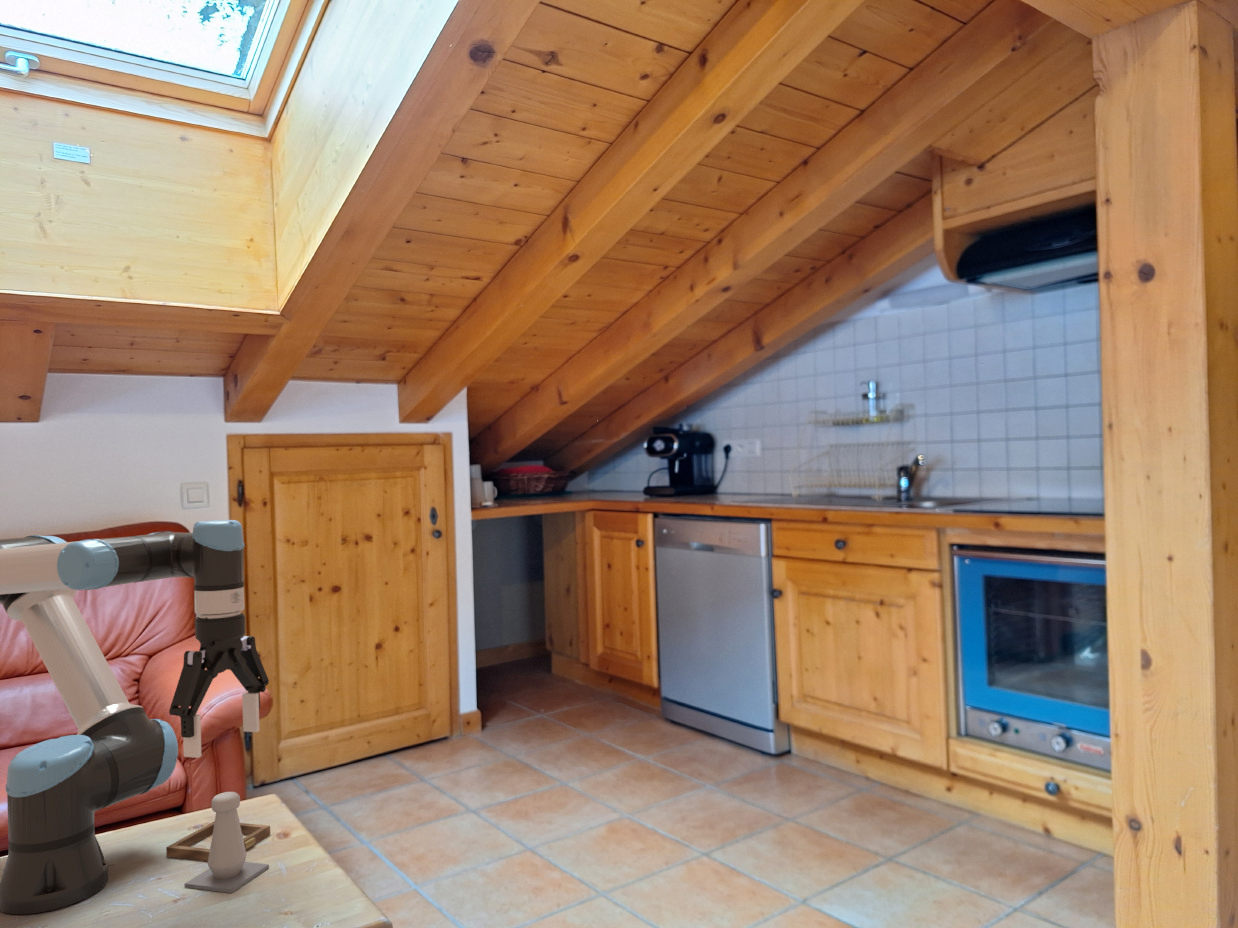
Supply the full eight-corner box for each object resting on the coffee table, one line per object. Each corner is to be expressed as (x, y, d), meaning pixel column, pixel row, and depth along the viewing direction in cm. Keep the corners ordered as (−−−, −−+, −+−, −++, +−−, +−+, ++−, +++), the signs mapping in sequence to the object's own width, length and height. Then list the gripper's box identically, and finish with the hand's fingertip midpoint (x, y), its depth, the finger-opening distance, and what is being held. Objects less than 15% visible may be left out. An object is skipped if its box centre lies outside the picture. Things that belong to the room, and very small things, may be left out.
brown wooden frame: (166, 856, 154) (166, 847, 154) (215, 828, 165) (215, 820, 165) (227, 862, 150) (226, 853, 150) (273, 834, 162) (272, 825, 162)
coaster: (184, 887, 142) (184, 883, 142) (224, 862, 151) (224, 859, 151) (231, 892, 139) (231, 888, 139) (268, 867, 148) (268, 864, 148)
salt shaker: (233, 882, 142) (230, 801, 142) (200, 880, 143) (198, 800, 143) (253, 866, 147) (251, 788, 148) (222, 864, 148) (220, 787, 148)
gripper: (181, 628, 132) (185, 770, 132) (288, 602, 156) (290, 722, 156) (141, 627, 134) (144, 766, 134) (252, 602, 158) (255, 720, 158)
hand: (223, 743), depth 145 cm, fingers open, 13 cm apart
